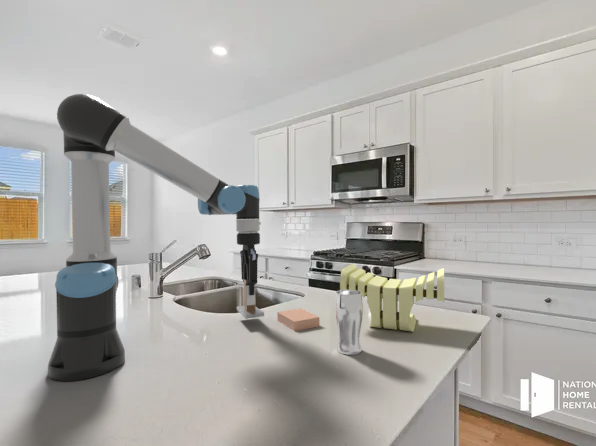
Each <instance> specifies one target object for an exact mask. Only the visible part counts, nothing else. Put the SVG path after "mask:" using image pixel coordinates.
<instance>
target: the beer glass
mask: <svg viewBox="0 0 596 446" xmlns="http://www.w3.org/2000/svg"><path fill="white" fill-rule="evenodd" d="M334 304H335V305H334V307H335V308H334V309H335V311H334V312H335V318H336V319H335V320H336V324H337V330H338V344H337V351H339V352H338V353H340V354H342V355H345V354H346V356H354V355H359V354H361V352H362V345H361V340H360V339H361V338H360V337H361V336H360V335H361V328H362V322H363V315H364V311H363V310H364V303H363V296H362V292H361V291H357V290H340V289H339V290H337V291H335V303H334Z"/></svg>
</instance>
